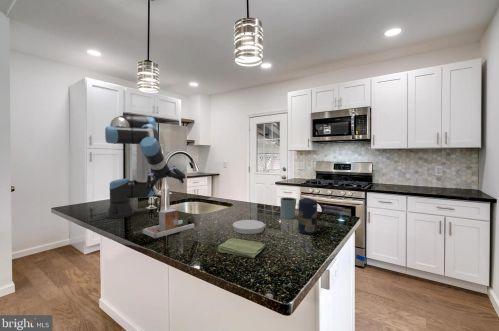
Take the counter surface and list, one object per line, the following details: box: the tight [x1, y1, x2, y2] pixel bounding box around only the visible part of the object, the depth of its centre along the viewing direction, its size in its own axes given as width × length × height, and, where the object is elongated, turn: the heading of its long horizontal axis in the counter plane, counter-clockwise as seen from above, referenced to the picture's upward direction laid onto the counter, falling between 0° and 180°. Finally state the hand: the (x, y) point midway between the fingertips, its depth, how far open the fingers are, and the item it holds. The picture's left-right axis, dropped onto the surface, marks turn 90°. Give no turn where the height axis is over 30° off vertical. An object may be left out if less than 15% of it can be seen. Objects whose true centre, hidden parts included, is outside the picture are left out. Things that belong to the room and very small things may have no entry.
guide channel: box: [142, 219, 195, 239], centre depth 128 cm, size 12×23×2 cm, turn 140°
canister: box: [297, 197, 318, 235], centre depth 126 cm, size 10×10×18 cm
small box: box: [158, 208, 179, 232], centre depth 127 cm, size 8×6×10 cm
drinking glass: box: [280, 196, 297, 220], centre depth 156 cm, size 10×10×12 cm
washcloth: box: [216, 237, 266, 259], centre depth 103 cm, size 13×18×3 cm
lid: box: [232, 219, 267, 235], centre depth 132 cm, size 17×20×3 cm
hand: (169, 189), depth 133 cm, fingers open, 13 cm apart
